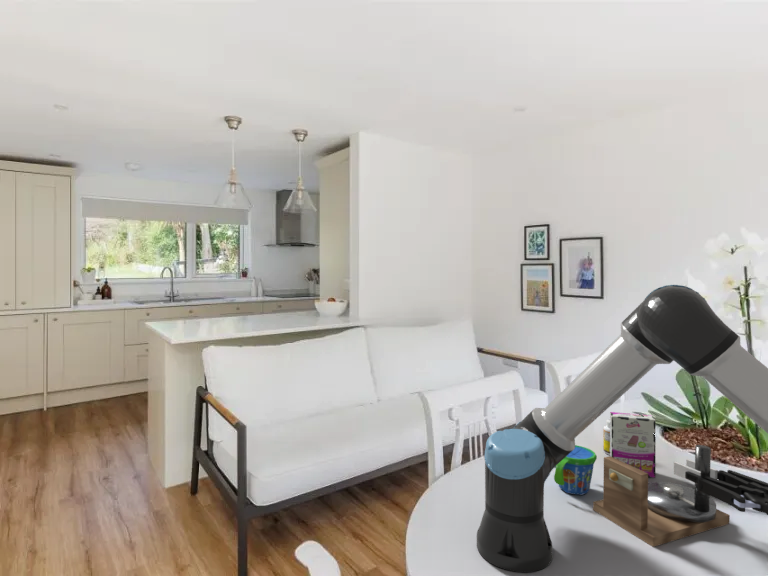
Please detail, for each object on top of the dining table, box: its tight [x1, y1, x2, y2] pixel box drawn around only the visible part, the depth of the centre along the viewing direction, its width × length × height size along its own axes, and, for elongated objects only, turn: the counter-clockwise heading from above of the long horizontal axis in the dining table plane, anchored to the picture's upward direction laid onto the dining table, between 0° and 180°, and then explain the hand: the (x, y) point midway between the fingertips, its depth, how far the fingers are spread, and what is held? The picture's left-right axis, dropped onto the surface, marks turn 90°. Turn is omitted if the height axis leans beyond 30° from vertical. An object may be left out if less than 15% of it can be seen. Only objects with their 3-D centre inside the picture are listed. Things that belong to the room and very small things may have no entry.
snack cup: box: [553, 444, 598, 496], centre depth 121 cm, size 16×10×10 cm
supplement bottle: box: [602, 419, 610, 456], centre depth 145 cm, size 6×6×10 cm
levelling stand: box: [592, 455, 731, 548], centre depth 107 cm, size 26×16×14 cm, turn 111°
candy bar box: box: [609, 411, 657, 478], centre depth 131 cm, size 11×5×16 cm, turn 70°
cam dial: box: [648, 444, 717, 522], centre depth 108 cm, size 15×15×16 cm
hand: (681, 466), depth 107 cm, fingers open, 3 cm apart
